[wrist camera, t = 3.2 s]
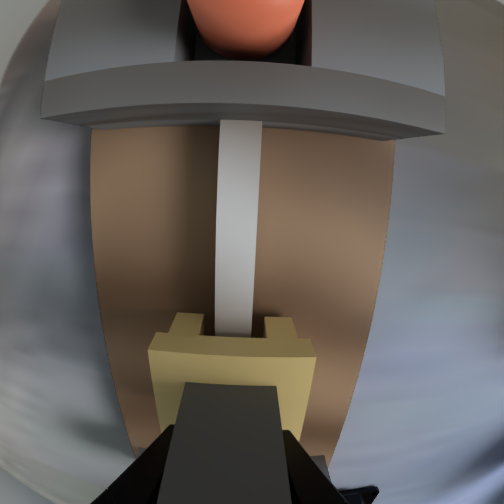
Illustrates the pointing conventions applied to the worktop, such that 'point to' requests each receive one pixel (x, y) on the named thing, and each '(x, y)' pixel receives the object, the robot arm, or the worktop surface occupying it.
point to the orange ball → (245, 25)
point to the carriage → (229, 410)
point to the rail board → (243, 179)
